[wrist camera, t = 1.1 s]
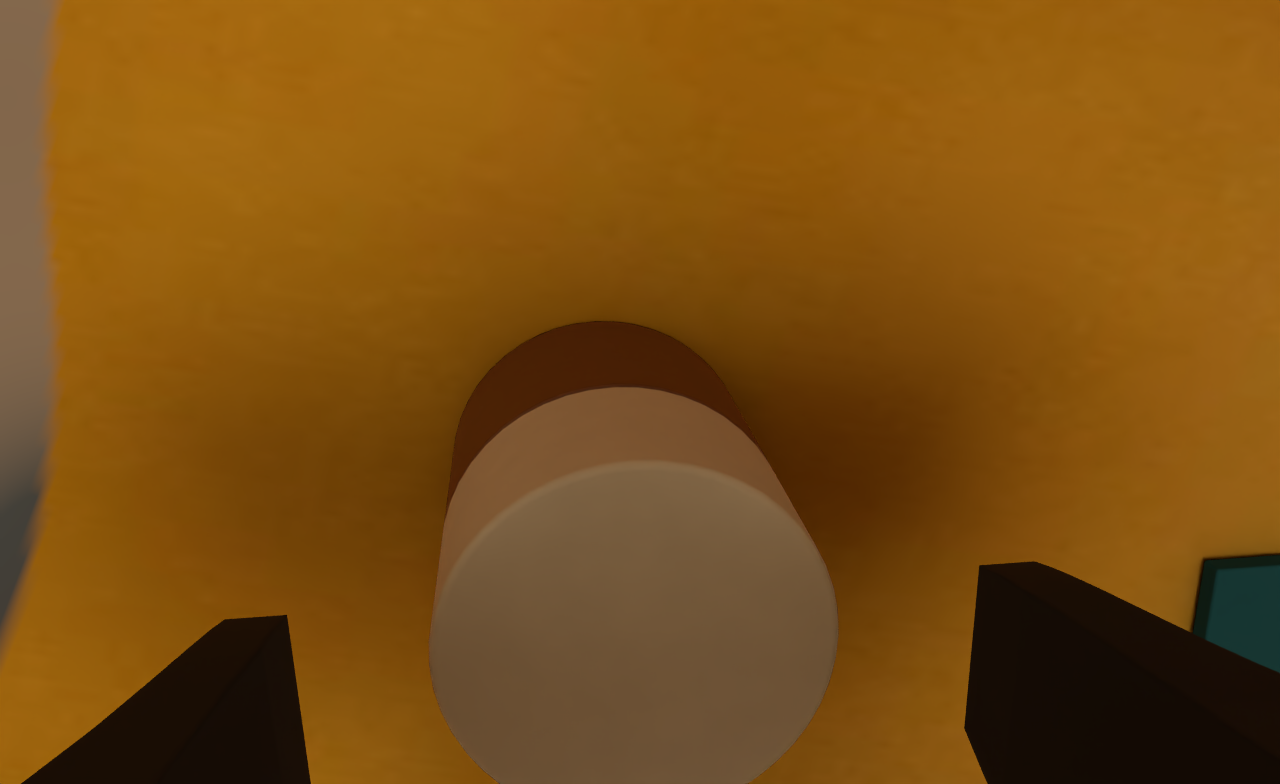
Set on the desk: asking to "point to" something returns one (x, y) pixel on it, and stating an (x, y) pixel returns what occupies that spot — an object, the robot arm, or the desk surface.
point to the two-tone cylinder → (622, 573)
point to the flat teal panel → (1242, 607)
